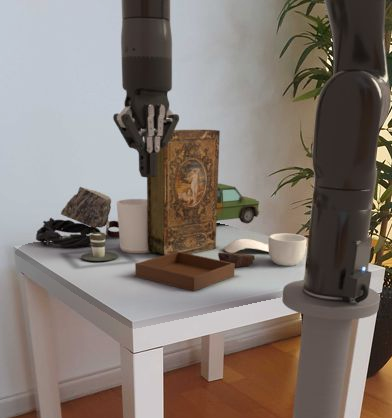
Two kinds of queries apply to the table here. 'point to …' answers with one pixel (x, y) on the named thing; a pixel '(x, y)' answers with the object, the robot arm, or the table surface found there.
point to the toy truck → (235, 205)
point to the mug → (133, 225)
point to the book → (184, 194)
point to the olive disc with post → (98, 249)
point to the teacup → (286, 248)
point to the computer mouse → (245, 245)
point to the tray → (185, 270)
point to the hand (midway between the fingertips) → (148, 176)
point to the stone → (237, 259)
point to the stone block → (88, 208)
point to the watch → (111, 233)
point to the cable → (68, 226)
